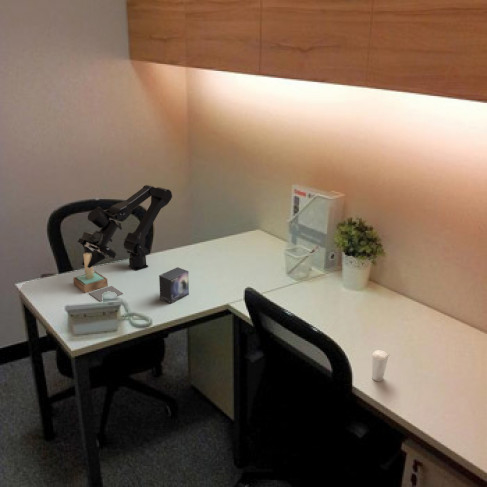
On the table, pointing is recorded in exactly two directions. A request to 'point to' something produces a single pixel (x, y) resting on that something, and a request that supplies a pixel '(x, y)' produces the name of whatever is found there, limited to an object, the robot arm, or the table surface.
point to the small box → (174, 285)
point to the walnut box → (90, 286)
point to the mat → (99, 293)
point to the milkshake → (379, 365)
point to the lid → (88, 271)
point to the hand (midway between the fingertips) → (85, 266)
